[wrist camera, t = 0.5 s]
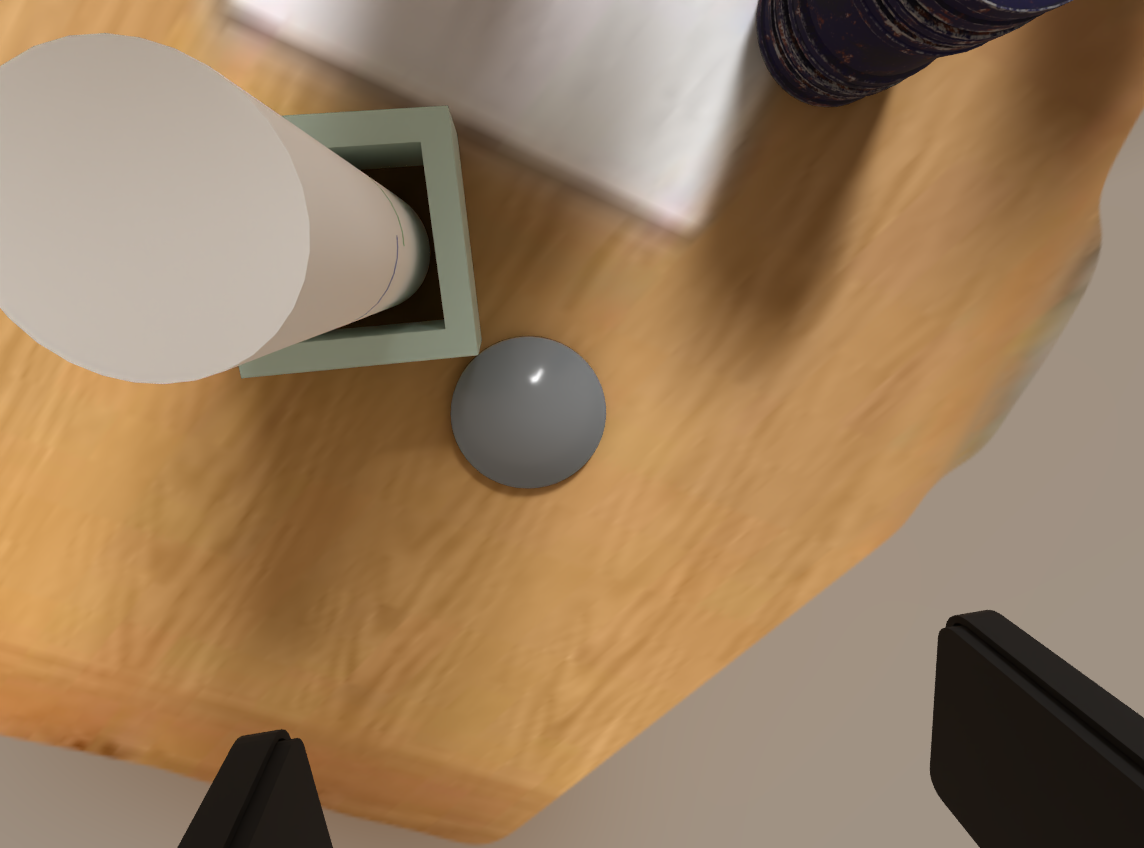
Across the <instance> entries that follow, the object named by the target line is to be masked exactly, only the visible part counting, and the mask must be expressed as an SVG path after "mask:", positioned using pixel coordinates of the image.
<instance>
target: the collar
mask: <svg viewBox="0 0 1144 848" xmlns="http://www.w3.org/2000/svg"><path fill="white" fill-rule="evenodd" d="M282 117H283V118H285V119H286V120H288V121H289V122H291V123H292V124H294V125H295V126H297V127H298V128H299V129H301V130H302V131H304V132H305V133H307V134H308V135H310V136H311V137H312V138H314V139H315V140H317V141H318V142H320V143H321V144H323V145H324V146H325V147H327V148H328V149H330V150H331V151H333V152H334V153H336V154H337V155H339V156H340V157H341V158H343V159H344V160H346V161H347V162H349V163H350V164H351V165H353V166H354V167H356V168H357V169H359V170H364V169H378V168H392V167H406V166H421V165H424V171H425V179H426V186H427V194H428V201H429V209H430V216H431V224H432V231H433V239H434V246H435V254H436V261H437V269H438V276H439V284H440V291H441V299H442V306H443V314H444V319H443V320H432V321H421V322H410V323H400V324H389V325H378V326H367V327H356V328H345V329H334V330H331V331H328V332H326V333H323V334H320V335H318V336H315V337H312V338H310V339H307V340H304V341H302V342H299V343H296V344H294V345H291V346H288V347H286V348H283V349H281V350H278V351H275V352H273V353H270V354H268V355H265V356H262V357H260V358H257V359H255V360H252V361H250V362H247V363H244V364H242V365H239V370H240V375H241V378H250V377H260V376H270V375H280V374H291V373H301V372H311V371H321V370H332V369H342V368H352V367H362V366H373V365H383V364H393V363H403V362H414V361H424V360H434V359H444V358H455V357H465V356H475V355H478V354H479V350H480V345H481V341H482V338H481V329H480V321H479V313H478V304H477V296H476V287H475V279H474V271H473V262H472V254H471V245H470V237H469V229H468V220H467V212H466V203H465V195H464V187H463V178H462V170H461V161H460V153H459V145H458V136H457V132H456V129H455V126H454V123H453V120H452V117H451V114H450V111H449V107H448V106H432V107H416V108H399V109H383V110H367V111H351V112H335V113H319V114H303V115H287V116H282Z"/></svg>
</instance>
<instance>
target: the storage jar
mask: <svg viewBox="0 0 1144 848" xmlns="http://www.w3.org/2000/svg"><path fill="white" fill-rule="evenodd" d="M1070 1H1073V0H759V3H758V9H757V35H758V43H759V47H760V50H761V54H762V57H763V59H764V62H765V64H766V66H767V68H768V70H769V72H770V73H771V75H772V76H773V78H774V79H775V81H776V82H777V83H778V84H779V85H780V86H781V87H782V89H784V90H785V91H786V92H787V93H789V94H790V95H791V96H793V97H794V98H796V99H798V100H800V101H802V102H804V103H807V104H810V105H813V106H820V107H837V106H842V105H846V104H849V103H852V102H854V101H857V100H859V99H861V98H864V97H865V96H870V95H873V94H876V93H878V92H881V91H883V90H886V89H888V88H890V87H892V86H894V85H896V84H898V83H900V82H901V81H903V80H904V79H906V78H908V77H910V76H912V75H914V74H915V73H917V72H919V71H920V70H922V69H924V68H925V67H927V66H928V65H929V64H930V63H931V62H933V61H934V60H935V59H936V58H939V57H944V56H948V55H954V54H958V53H963V52H967V51H969V50H972V49H974V48H977V47H979V46H982V45H983V44H985V43H987V42H988V41H991V40H993V39H996V38H998V37H1000V36H1003V35H1005V34H1007V33H1009V32H1011V31H1014V30H1016V29H1018V28H1020V27H1022V26H1023V25H1025V24H1027V23H1028V22H1030V21H1031V20H1033V19H1035V18H1036V17H1038V16H1040V15H1042V14H1044V13H1045V12H1048V11H1050V10H1053V9H1055V8H1058V7H1060V6H1062V5H1064V4H1066V3H1068V2H1070Z"/></svg>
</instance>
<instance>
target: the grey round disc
mask: <svg viewBox="0 0 1144 848" xmlns="http://www.w3.org/2000/svg"><path fill="white" fill-rule="evenodd" d="M605 420H606V404H605V397H604V393H603V390H602V387H601V384H600V382H599V380H598V378H597V376H596V374H595V373H594V371H593V370H592V368H591V367H590V366H589V365H588V363H587V362H586V361H585V360H584V359H583V358H582V357H581V356H580V355H579V354H578V353H576V352H575V351H574V350H572V349H571V348H569V347H567V346H566V345H564V344H562V343H560V342H557V341H554V340H552V339H548V338H544V337H536V336H520V337H514V338H509V339H506V340H502V341H500V342H498V343H495V344H493V345H491V346H490V347H488V348H486V349H485V350H483V351H482V352H481V353H479V354H478V355H477V356H476V357H475V358H474V359H473V360H472V361H471V362H470V363H469V364H468V366H467V367H466V368H465V370H464V371H463V373H462V375H461V376H460V378H459V380H458V382H457V385H456V388H455V391H454V394H453V399H452V403H451V424H452V429H453V433H454V436H455V439H456V442H457V444H458V446H459V448H460V450H461V452H462V453H463V455H464V456H465V457H466V459H467V460H468V461H469V462H470V463H471V465H472V466H473V467H474V468H476V469H477V470H478V471H479V472H480V473H482V474H483V475H485V476H486V477H488V478H489V479H491V480H494V481H496V482H498V483H501V484H504V485H507V486H511V487H516V488H539V487H544V486H549V485H552V484H555V483H558V482H560V481H562V480H564V479H566V478H568V477H569V476H571V475H573V474H574V473H575V472H577V471H578V470H579V469H580V468H581V467H582V466H583V465H584V464H585V463H586V462H587V461H588V460H589V459H590V457H591V456H592V455H593V453H594V452H595V450H596V448H597V447H598V445H599V442H600V440H601V437H602V435H603V431H604V427H605Z"/></svg>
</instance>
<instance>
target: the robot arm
mask: <svg viewBox="0 0 1144 848" xmlns="http://www.w3.org/2000/svg"><path fill="white" fill-rule="evenodd" d="M935 679H936V680H935V694H934V695H935V696H934V710H933V726H932V742H931V758H930V775H931V780H932V783H933V785H934V788H935V790H936V792H937V794H938V795H939V797H940V798H941V799H942V801H943V802H944V803H945V805H946V806H947V807H948V808H949V810H950V811H951V812H952V814H953V815H954V816H955V817H956V819H957V820H958V821H959V822H960V824H961V825H962V826H963V827H964V828H965V830H966V831H967V832H968V833H969V835H970V836H971V837H972V838H973V840H974V841H975V842H976V843H977V845H978V846H979V847H980V848H1144V718H1143V717H1142V716H1140V715H1139V714H1138V713H1136V712H1135V711H1134V710H1132V709H1131V708H1129V707H1128V706H1127V705H1125V704H1124V703H1122V702H1121V701H1120V700H1118V699H1117V698H1116V697H1114V696H1113V695H1111V694H1110V693H1109V692H1107V691H1106V690H1104V689H1103V688H1102V687H1100V686H1099V685H1098V684H1096V683H1095V682H1094V681H1092V680H1091V679H1089V678H1088V677H1087V676H1085V675H1084V674H1082V673H1081V672H1080V671H1078V670H1077V669H1076V668H1074V667H1073V666H1071V665H1070V664H1068V663H1067V662H1066V661H1065V660H1063V659H1062V658H1060V657H1059V656H1058V655H1056V654H1055V653H1053V652H1052V651H1051V650H1049V649H1048V648H1046V647H1045V646H1044V645H1042V644H1041V643H1040V642H1038V641H1037V640H1035V639H1034V638H1033V637H1031V636H1030V635H1029V634H1027V633H1026V632H1025V631H1023V630H1022V629H1020V628H1019V627H1018V626H1016V625H1015V624H1013V623H1012V622H1011V621H1009V620H1008V619H1006V618H1005V617H1004V616H1002V615H1001V614H999V613H997V612H995V611H992V610H984V611H978V612H973V613H966V614H960V615H955V616H952V617H950V618H949V619H948V621H947V623H946V628H943V629H941V631H940V632H939V635H938V646H937V663H936V678H935ZM178 848H333V847H332V843H331V839H330V836H329V832H328V829H327V825H326V822H325V818H324V815H323V811H322V807H321V804H320V800H319V797H318V793H317V790H316V786H315V783H314V779H313V775H312V772H311V768H310V765H309V761H308V758H307V754H306V751H305V747H304V744H303V742H302V740H301V739H300V738H295V739H291V738H290V736H289V733H288V732H287V731H286V730H283V729H281V730H275V731H269V732H263V733H257V734H251V735H245V736H241V737H240V738H238V739H237V740H236V741H235V743H234V744H233V746H232V748H231V749H230V751H229V753H228V755H227V757H226V759H225V761H224V762H223V764H222V766H221V768H220V770H219V772H218V773H217V775H216V777H215V779H214V781H213V783H212V785H211V786H210V788H209V790H208V792H207V794H206V796H205V798H204V800H203V801H202V803H201V805H200V807H199V809H198V811H197V812H196V814H195V816H194V818H193V820H192V822H191V823H190V825H189V827H188V829H187V831H186V833H185V835H184V836H183V838H182V840H181V842H180V844H179V846H178Z"/></svg>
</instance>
